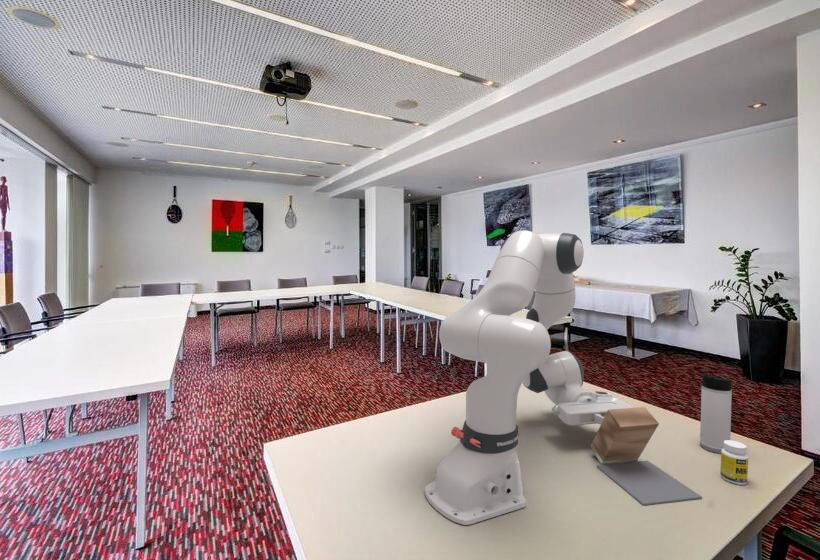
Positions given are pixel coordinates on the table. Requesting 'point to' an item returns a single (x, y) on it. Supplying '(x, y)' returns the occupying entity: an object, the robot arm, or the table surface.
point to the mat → (648, 483)
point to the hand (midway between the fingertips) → (614, 424)
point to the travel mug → (715, 412)
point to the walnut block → (623, 435)
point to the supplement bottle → (734, 462)
